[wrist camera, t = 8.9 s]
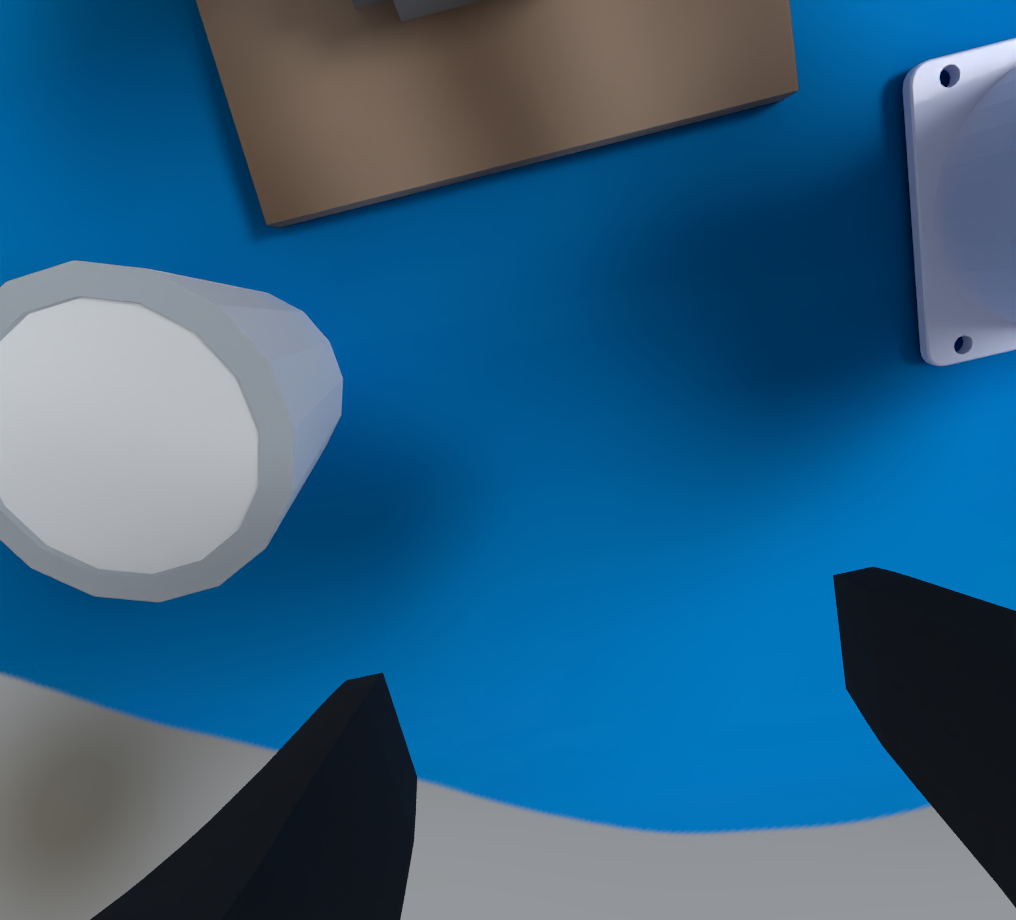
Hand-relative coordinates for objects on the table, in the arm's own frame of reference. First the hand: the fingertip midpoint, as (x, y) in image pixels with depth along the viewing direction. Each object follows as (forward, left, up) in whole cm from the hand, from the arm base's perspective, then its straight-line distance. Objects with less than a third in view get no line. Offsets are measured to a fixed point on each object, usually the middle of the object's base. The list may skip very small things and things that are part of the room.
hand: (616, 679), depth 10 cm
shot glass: (+8, -5, -11) cm, 14 cm away
